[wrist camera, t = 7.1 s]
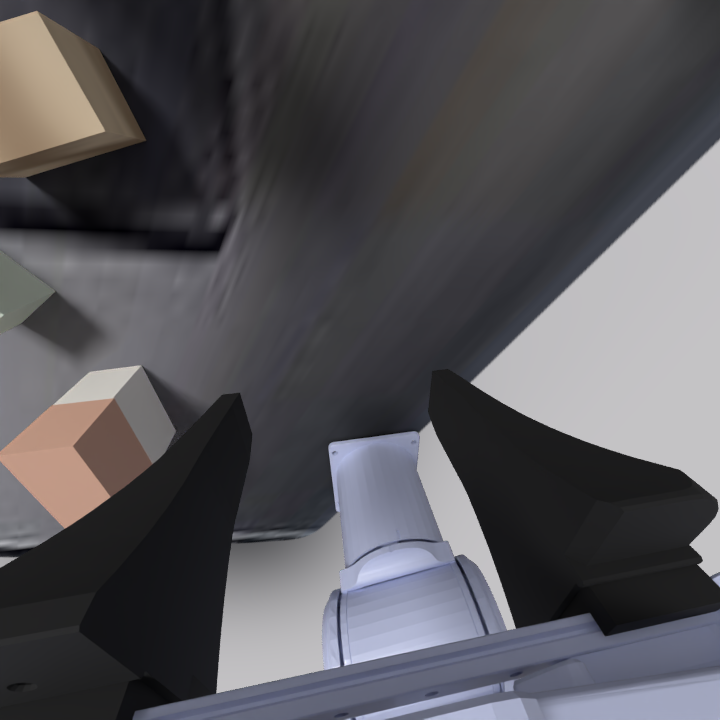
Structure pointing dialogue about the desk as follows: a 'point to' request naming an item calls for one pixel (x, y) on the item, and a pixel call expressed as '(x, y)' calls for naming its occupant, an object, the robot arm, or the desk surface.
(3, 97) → the oak brick
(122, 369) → the cream brick
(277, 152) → the desk surface
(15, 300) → the sage brick
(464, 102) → the desk surface
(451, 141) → the desk surface
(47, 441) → the terracotta brick
